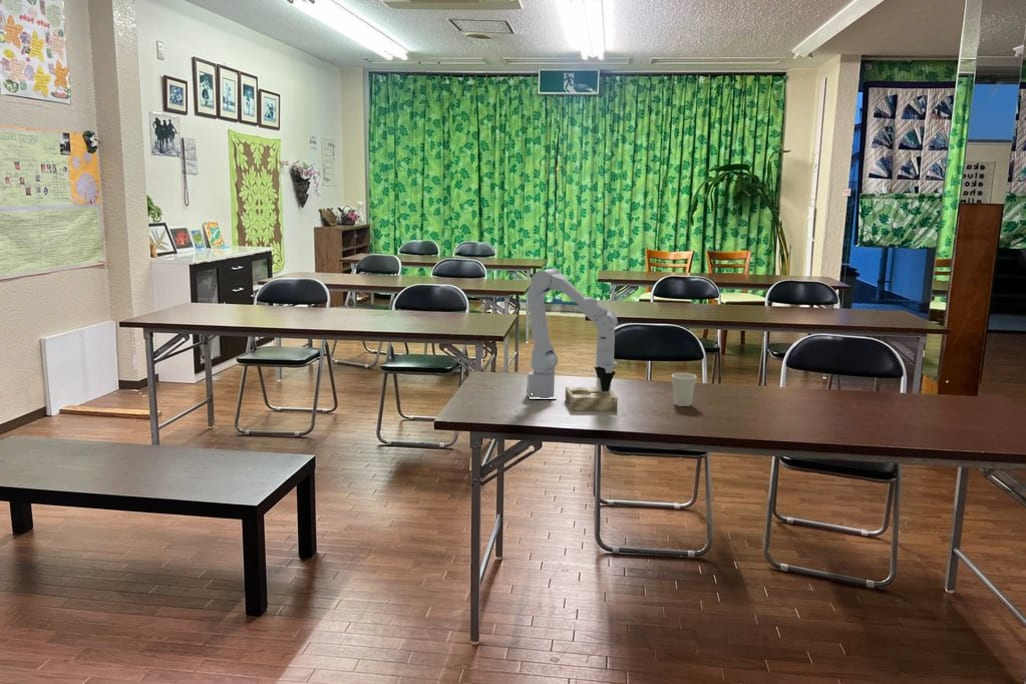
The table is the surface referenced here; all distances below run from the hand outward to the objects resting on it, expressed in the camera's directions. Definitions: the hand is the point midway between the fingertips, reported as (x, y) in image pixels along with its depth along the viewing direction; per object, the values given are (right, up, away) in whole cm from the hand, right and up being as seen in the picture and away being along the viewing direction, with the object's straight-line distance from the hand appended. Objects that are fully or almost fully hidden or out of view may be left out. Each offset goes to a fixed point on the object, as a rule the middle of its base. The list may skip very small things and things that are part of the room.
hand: (603, 389), depth 258 cm
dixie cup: (+27, -5, +4) cm, 28 cm away
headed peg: (0, -5, +1) cm, 5 cm away
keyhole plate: (-4, -5, +1) cm, 7 cm away
